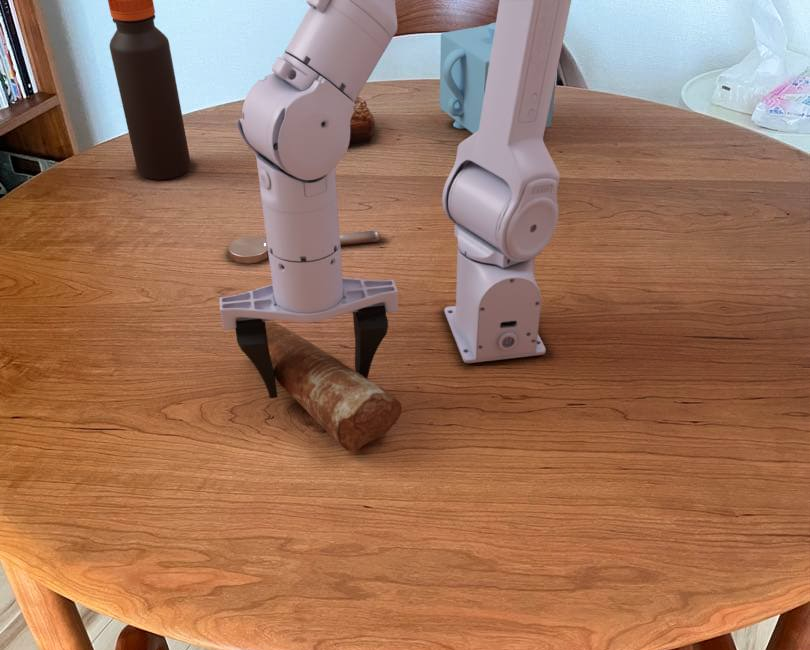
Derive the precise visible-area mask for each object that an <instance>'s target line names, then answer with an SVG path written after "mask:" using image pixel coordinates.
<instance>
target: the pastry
mask: <svg viewBox="0 0 810 650" xmlns="http://www.w3.org/2000/svg"><path fill="white" fill-rule="evenodd" d="M354 103H355V106H354V108H353V110H354V111H355V112H354V113H353V115H352V117H351V121H350V141H349V146H348V148H350V147H358V146H362V145H366V144H369V143H371V141H372V140H373V138H374V135H375V134H374V127H375V119H374V115H373V113H372V112H371V110H370V109H369V107H368V106H367V102H366V100H365V99H362V98H361V97H359V96H358V97H357V99H356V101H355V102H354Z"/></svg>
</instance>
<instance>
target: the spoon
mask: <svg viewBox="0 0 810 650" xmlns="http://www.w3.org/2000/svg"><path fill="white" fill-rule="evenodd" d="M380 239H381V234H380V232H379V231H378V230H365V231H355V232H346V233H340V246H346V245H357V244H368V243H375V242H378V241H379V240H380ZM228 253H229V258H230V259H231V260H232V261H234V262H235V263H239V264H244V265H245V264H247V265H248V264H249V265H250V264H257V263H260V262H263V261H265V260H267V259H269V254H268V247H267V240H266V238H265V237H262V236H256V235H247V236H242V237H238V238H236V239H234V240H233V241H231V242H230V244H229V245H228Z"/></svg>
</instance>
